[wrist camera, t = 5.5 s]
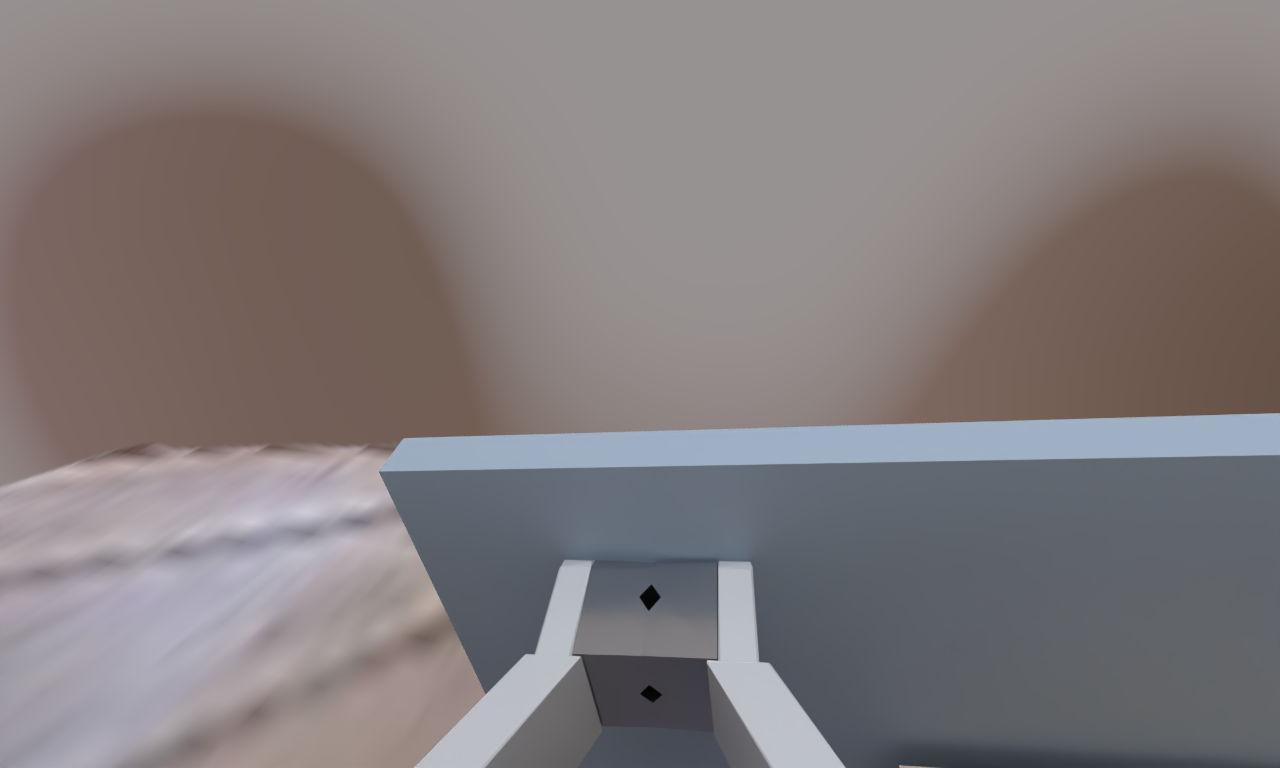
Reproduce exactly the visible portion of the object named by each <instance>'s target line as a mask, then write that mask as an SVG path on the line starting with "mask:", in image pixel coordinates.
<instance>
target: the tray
mask: <svg viewBox="0 0 1280 768" xmlns="http://www.w3.org/2000/svg"><path fill="white" fill-rule="evenodd" d="M898 768H936V767H918V766H901V765H899V767H898Z"/></svg>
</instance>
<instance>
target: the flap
mask: <svg viewBox="0 0 1280 768" xmlns="http://www.w3.org/2000/svg"><path fill="white" fill-rule="evenodd" d="M379 473H380V475H381V477H382V479H383V481H384V483H385V485H386V487H387V489H388V491H389V493H390V496H391V498H392V500H393V502H394V504H395V506H396V508H397V510H398V512H399V514H400V516H401V518H402V521H403V523H404V525H405V527H406V529H407V531H408V533H409V535H410V537H411V539H412V541H413V543H414V546H415V548H416V550H417V552H418V554H419V556H420V558H421V560H422V562H423V564H424V566H425V568H426V571H427V573H428V575H429V577H430V579H431V581H432V583H433V585H434V587H435V589H436V591H437V593H438V596H439V598H440V600H441V602H442V604H443V606H444V608H445V610H446V612H447V614H448V616H449V618H450V621H451V623H452V625H453V627H454V629H455V631H456V633H457V635H458V637H459V639H460V641H461V643H462V646H463V648H464V650H465V652H466V654H467V656H468V658H469V660H470V662H471V664H472V666H473V668H474V671H475V673H476V675H477V677H478V679H479V681H480V683H481V685H482V687H483V689H484V691H485V693H486V694H487V693H488V692H489V691H490V690H491V689H492V688H493V687H494V686H495V684H496V683H497V682H498V681H499V680H500V679H501V678H502V677H503V676H504V675H505V674H506V673H507V672H508V671H509V670H510V669H511V668H512V667H513V666H514V665H515V664H516V663H517V662H518V661H519V660H520V659H521V658H522V657H523V656H524V655H525V654H535V651H536V648H537V644H538V641H539V637H540V634H541V630H542V627H543V623H544V620H545V616H546V613H547V609H548V606H549V602H550V599H551V595H552V592H553V588H554V585H555V581H556V578H557V574H558V571H559V568H560V567H561V565H562V563H563V562H564V560H605V561H634V562H656V561H718V564H719V561H734V562H751V564H752V567H753V581H754V595H755V609H756V623H757V638H758V652H759V662H765V663H770V664H771V665H772V667H773V668H774V669H775V671H776V672H777V674H778V675H779V676H780V678H781V679H782V681H783V682H784V683H785V685H786V686H787V687H788V689H789V690H790V692H791V693H792V694H793V696H794V697H795V698H796V700H797V701H798V703H799V704H800V705H801V707H802V708H803V710H804V711H805V712H806V714H807V715H808V716H809V718H810V719H811V721H812V722H813V723H814V725H815V726H816V728H817V729H818V730H819V732H820V733H821V734H822V736H823V737H824V739H825V740H826V741H827V743H828V744H829V745H830V747H831V748H832V750H833V751H834V752H835V754H836V755H837V757H838V758H839V759H840V761H841V762H842V763H843V765H844V766H845V768H898V767H899V765H901V766H918V767H936V768H1280V413H1274V414H1239V415H1205V416H1170V417H1134V418H1100V419H1067V420H1066V419H1064V420H1029V421H996V422H995V421H993V422H958V423H924V424H889V425H853V426H820V427H819V426H818V427H785V428H784V427H783V428H752V429H751V428H748V429H713V430H679V431H644V432H609V433H608V432H607V433H575V434H538V435H502V436H472V437H471V436H467V437H432V438H404V439H403V440H402V441H401V443H400V444H399V445H398V447H397V448H396V449H395V451H394V452H393V453H392V455H391V456H390V457H389V459H388V460H387V461H386V463H385V464H384V465H383V467H382V468H381V469H380V471H379ZM602 730H603V731H602V732H601V733H600V735H599V736H598V738H597V739H596V741H595V742H594V744H593V745H592V747H591V748H590V750H589V751H588V753H587V754H586V756H585V757H584V759H583V760H582V762H581V763H580V765H579V766H578V768H730V766H729V764H728V762H727V760H726V758H725V756H724V754H723V752H722V750H721V748H720V746H719V744H718V742H717V740H716V738H715V736H714V732H703V731H691V730H679V729H667V728H652V727H612V726H602Z"/></svg>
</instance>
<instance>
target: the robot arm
mask: <svg viewBox="0 0 1280 768" xmlns="http://www.w3.org/2000/svg"><path fill="white" fill-rule="evenodd" d="M602 726H612V727H652V728H667V729H679V730H691V731H703V732H714V736H715V738H716V740H717V742H718V744H719V746H720V748H721V750H722V752H723V754H724V756H725V758H726V760H727V762H728V764H729V766H730V768H845V766H844V765H843V763H842V762H841V761H840V759H839V758H838V757H837V755H836V754H835V752H834V751H833V750H832V748H831V747H830V745H829V744H828V743H827V741H826V740H825V739H824V737H823V736H822V734H821V733H820V732H819V730H818V729H817V728H816V726H815V725H814V723H813V722H812V721H811V719H810V718H809V716H808V715H807V714H806V712H805V711H804V710H803V708H802V707H801V705H800V704H799V703H798V701H797V700H796V698H795V697H794V696H793V694H792V693H791V692H790V690H789V689H788V687H787V686H786V685H785V683H784V682H783V681H782V679H781V678H780V676H779V675H778V674H777V672H776V671H775V669H774V668H773V667H772V665H771V664H770V663H765V662H759V652H758V638H757V623H756V609H755V595H754V581H753V567H752V564H751V562H734V561H719V564H718V561H656V562H634V561H605V560H564V562H563V563H562V565H561V567H560V568H559V571H558V574H557V578H556V581H555V585H554V588H553V592H552V595H551V599H550V602H549V606H548V609H547V613H546V616H545V620H544V623H543V627H542V630H541V634H540V637H539V641H538V644H537V648H536V651H535V654H525V655H524V656H523V657H522V658H521V659H520V660H519V661H518V662H517V663H516V664H515V665H514V666H513V667H512V668H511V669H510V670H509V671H508V672H507V673H506V674H505V675H504V676H503V677H502V678H501V679H500V680H499V681H498V682H497V683H496V684H495V686H494V687H493V688H492V689H491V690H490V691H489V692H488V693H487V694H486V695H485V696H484V697H483V698H482V699H481V700H480V701H479V702H478V703H477V704H476V705H475V706H474V707H473V708H472V709H471V710H470V711H469V712H468V713H467V714H466V715H465V716H464V717H463V718H462V719H461V720H460V721H459V722H458V723H457V724H456V725H455V726H454V727H453V728H452V729H451V730H450V731H449V732H448V733H447V734H446V735H445V736H444V737H443V738H442V739H441V741H440V742H439V743H438V744H437V745H436V746H435V747H434V748H433V749H432V750H431V751H430V752H429V753H428V754H427V755H426V756H425V757H424V758H423V759H422V760H421V761H420V762H419V763H418V764H417V765H416V766H415V767H414V768H578V766H579V765H580V763H581V762H582V760H583V759H584V757H585V756H586V754H587V753H588V751H589V750H590V748H591V747H592V745H593V744H594V742H595V741H596V739H597V738H598V736H599V735H600V733H601V732H602V731H603V730H602Z"/></svg>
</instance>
